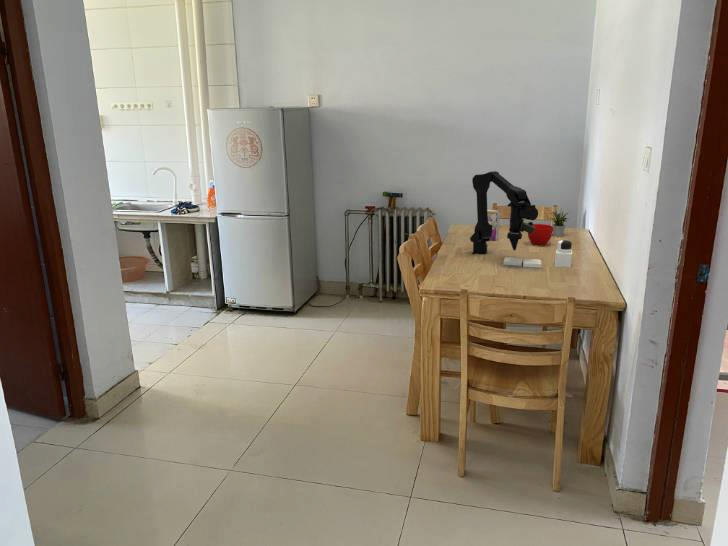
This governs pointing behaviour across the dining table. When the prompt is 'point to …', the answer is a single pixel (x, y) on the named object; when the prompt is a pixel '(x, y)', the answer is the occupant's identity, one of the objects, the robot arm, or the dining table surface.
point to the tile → (513, 261)
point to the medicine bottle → (563, 254)
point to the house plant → (558, 223)
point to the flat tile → (532, 263)
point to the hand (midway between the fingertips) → (514, 250)
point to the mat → (519, 266)
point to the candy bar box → (494, 223)
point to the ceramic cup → (541, 234)
